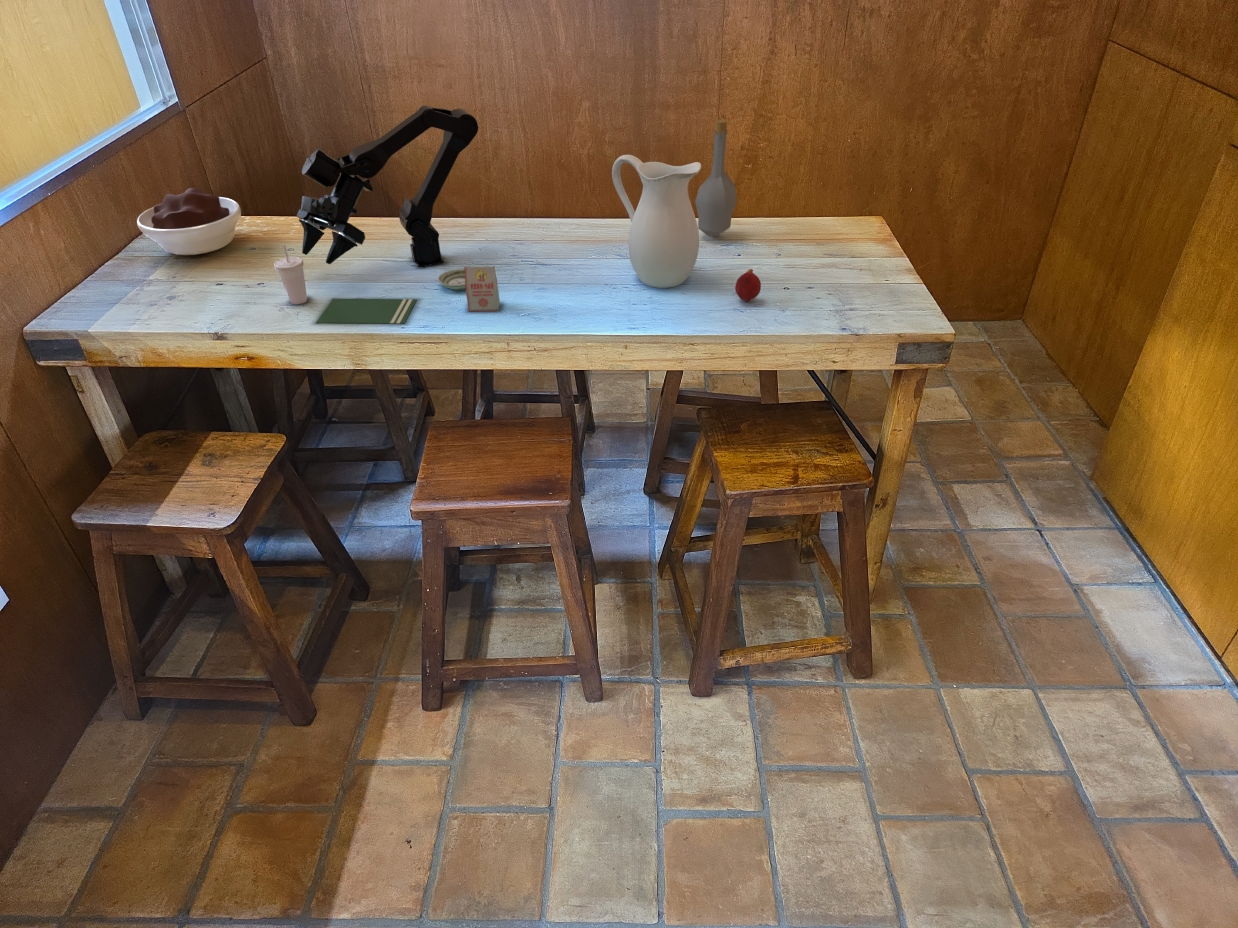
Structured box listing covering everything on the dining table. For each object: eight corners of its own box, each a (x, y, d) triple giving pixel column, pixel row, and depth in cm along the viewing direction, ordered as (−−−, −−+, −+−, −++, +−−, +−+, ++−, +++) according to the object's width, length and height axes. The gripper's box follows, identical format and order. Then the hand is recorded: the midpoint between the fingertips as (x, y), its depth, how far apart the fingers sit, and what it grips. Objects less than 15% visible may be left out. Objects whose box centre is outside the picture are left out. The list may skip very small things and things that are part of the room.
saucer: (463, 274, 196) (462, 264, 195) (487, 285, 191) (486, 276, 189) (431, 286, 191) (429, 276, 189) (454, 298, 185) (452, 288, 184)
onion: (752, 309, 179) (756, 276, 175) (729, 303, 182) (732, 271, 177) (763, 299, 183) (766, 267, 178) (740, 294, 186) (743, 262, 181)
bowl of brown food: (139, 271, 199) (115, 212, 190) (160, 235, 218) (140, 180, 209) (243, 261, 204) (225, 203, 194) (255, 226, 223) (239, 172, 214)
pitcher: (710, 277, 193) (718, 161, 176) (666, 300, 184) (670, 180, 166) (638, 252, 206) (639, 141, 189) (593, 272, 196) (590, 157, 179)
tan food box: (470, 304, 183) (465, 263, 177) (499, 303, 183) (495, 263, 177) (468, 311, 180) (463, 270, 174) (498, 311, 180) (493, 270, 174)
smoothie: (287, 309, 181) (270, 251, 173) (282, 298, 186) (266, 241, 177) (315, 303, 184) (300, 246, 175) (310, 292, 188) (295, 236, 180)
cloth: (416, 300, 185) (416, 299, 185) (404, 324, 175) (404, 323, 175) (333, 299, 185) (332, 298, 185) (316, 323, 176) (315, 322, 176)
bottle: (736, 245, 209) (746, 127, 191) (694, 246, 209) (700, 127, 191) (732, 229, 218) (741, 115, 200) (691, 230, 218) (697, 115, 200)
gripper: (292, 173, 182) (264, 234, 182) (342, 188, 173) (312, 253, 173) (329, 197, 192) (302, 255, 191) (378, 213, 182) (350, 274, 182)
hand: (315, 258), depth 184 cm, fingers open, 9 cm apart
